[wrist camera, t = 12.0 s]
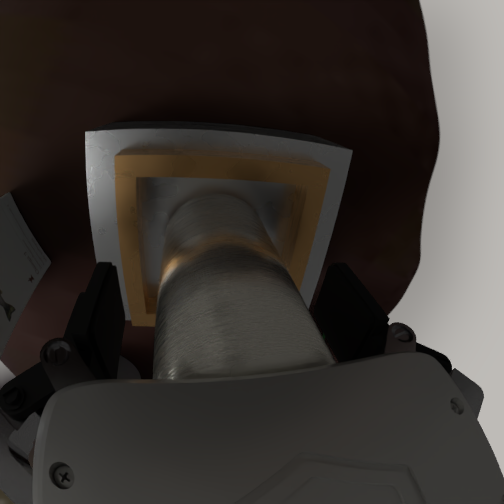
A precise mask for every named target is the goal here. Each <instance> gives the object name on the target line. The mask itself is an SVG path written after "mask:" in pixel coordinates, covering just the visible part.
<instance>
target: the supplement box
mask: <svg viewBox="0 0 504 504" xmlns="http://www.w3.org/2000/svg"><path fill="white" fill-rule="evenodd" d="M50 264H51V261H50V259H49V258H48V257H47V255H46V254H45V253H44V251H43V250H42V248H41V247H40V245H39V244H38V242H37V241H36V239H35V238H34V236H33V235H32V233H31V231H30V230H29V228H28V226H27V224H26V223H25V221H24V219H23V217H22V215H21V214H20V212H19V210H18V208H17V206H16V204H15V202H14V200H13V197H12V195H11V193H10V192H9V193H7V194H5V195H4V196H2V197H1V198H0V358H1V356H2V353H3V351H4V348H5V346H6V344H7V342H8V340H9V338H10V336H11V333H12V331H13V329H14V327H15V325H16V323H17V321H18V319H19V317H20V315H21V313H22V311H23V309H24V308H25V306H26V304H27V302H28V300H29V299H30V297H31V295H32V293H33V291H34V290H35V288H36V287H37V285H38V283H39V282H40V280H41V278H42V277H43V275H44V273H45V272H46V270H47V269H48V267H49V266H50Z"/></svg>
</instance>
